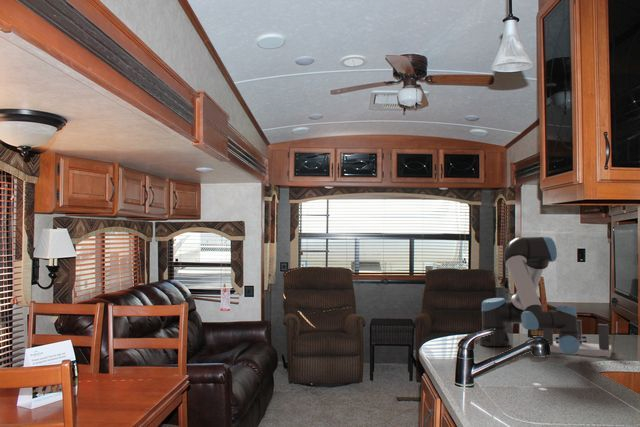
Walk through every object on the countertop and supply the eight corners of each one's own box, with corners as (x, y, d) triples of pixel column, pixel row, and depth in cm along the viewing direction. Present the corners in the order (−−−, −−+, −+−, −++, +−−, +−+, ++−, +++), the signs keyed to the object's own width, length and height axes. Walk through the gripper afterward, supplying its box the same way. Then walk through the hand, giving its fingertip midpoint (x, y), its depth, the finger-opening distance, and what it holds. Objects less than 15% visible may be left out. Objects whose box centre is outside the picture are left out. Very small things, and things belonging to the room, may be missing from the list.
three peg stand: (610, 357, 246) (609, 325, 247) (542, 351, 261) (541, 321, 261) (611, 351, 257) (610, 321, 258) (546, 346, 272) (545, 317, 272)
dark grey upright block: (581, 343, 261) (580, 320, 261) (572, 342, 263) (571, 320, 263) (582, 342, 263) (581, 319, 263) (573, 341, 265) (572, 319, 265)
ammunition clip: (527, 336, 295) (526, 314, 296) (528, 336, 297) (527, 314, 297) (548, 338, 290) (547, 316, 290) (549, 338, 291) (548, 315, 292)
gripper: (555, 350, 235) (558, 345, 256) (588, 350, 230) (588, 344, 250) (552, 333, 236) (556, 328, 257) (585, 332, 231) (586, 327, 252)
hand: (572, 336), depth 254 cm, fingers closed
